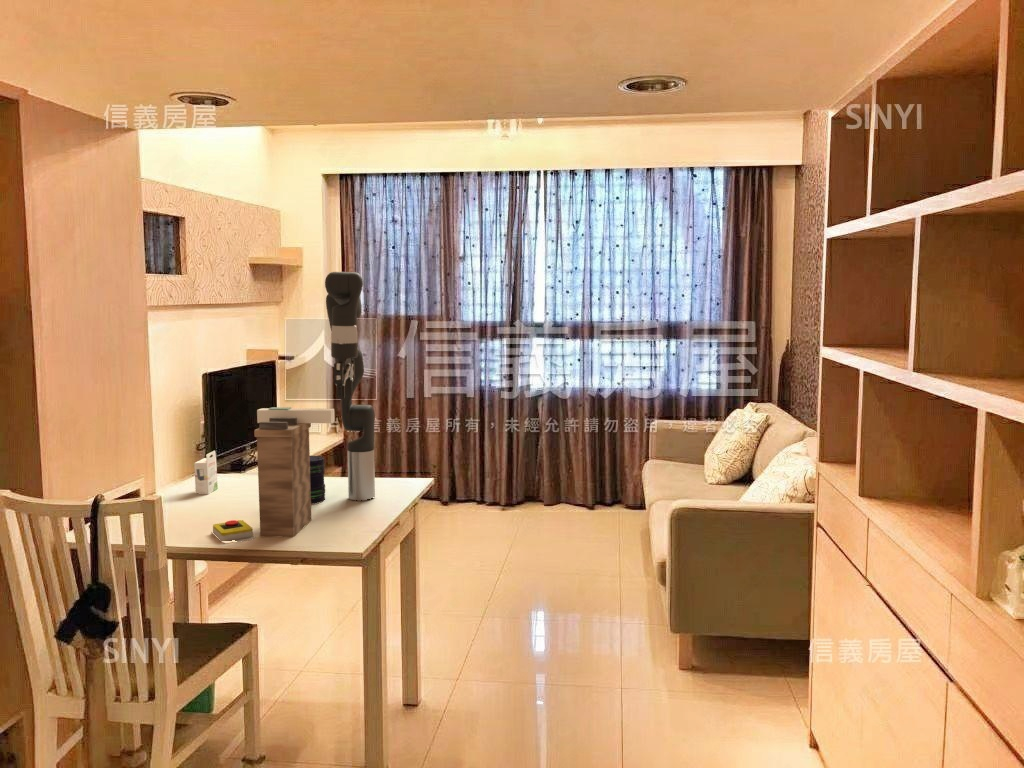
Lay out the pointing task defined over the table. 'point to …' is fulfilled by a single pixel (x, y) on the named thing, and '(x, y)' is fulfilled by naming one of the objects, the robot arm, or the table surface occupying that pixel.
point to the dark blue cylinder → (317, 479)
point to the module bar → (296, 414)
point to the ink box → (206, 474)
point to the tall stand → (283, 476)
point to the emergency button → (233, 531)
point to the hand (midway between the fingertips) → (344, 396)
